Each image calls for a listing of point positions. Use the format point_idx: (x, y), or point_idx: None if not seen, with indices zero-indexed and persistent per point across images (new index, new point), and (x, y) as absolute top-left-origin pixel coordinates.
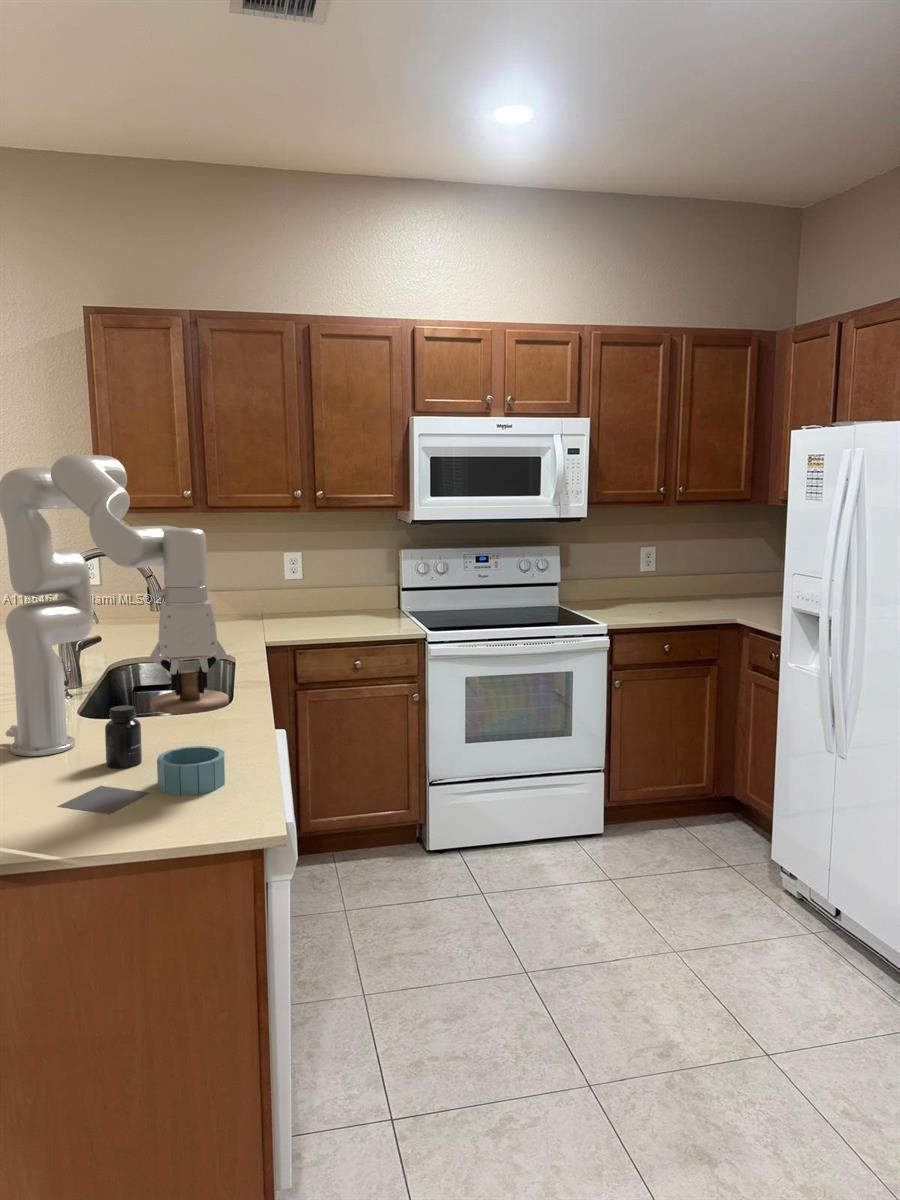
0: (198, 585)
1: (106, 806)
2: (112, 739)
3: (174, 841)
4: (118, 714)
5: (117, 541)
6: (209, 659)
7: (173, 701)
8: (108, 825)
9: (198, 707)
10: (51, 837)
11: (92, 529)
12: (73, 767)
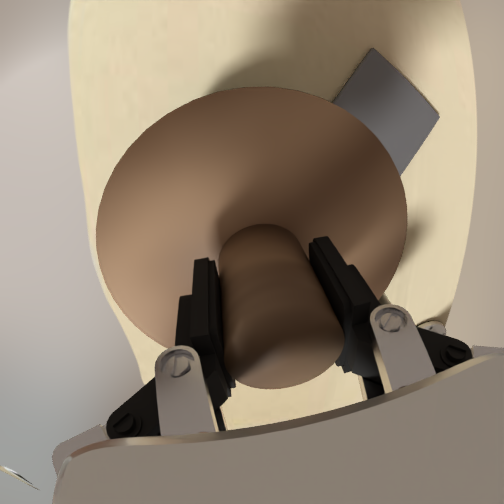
0: None
1: (381, 84)
2: (386, 299)
3: None
4: None
5: None
6: (149, 431)
7: (329, 228)
8: (368, 14)
9: (212, 95)
10: (430, 11)
11: None
12: (405, 285)
